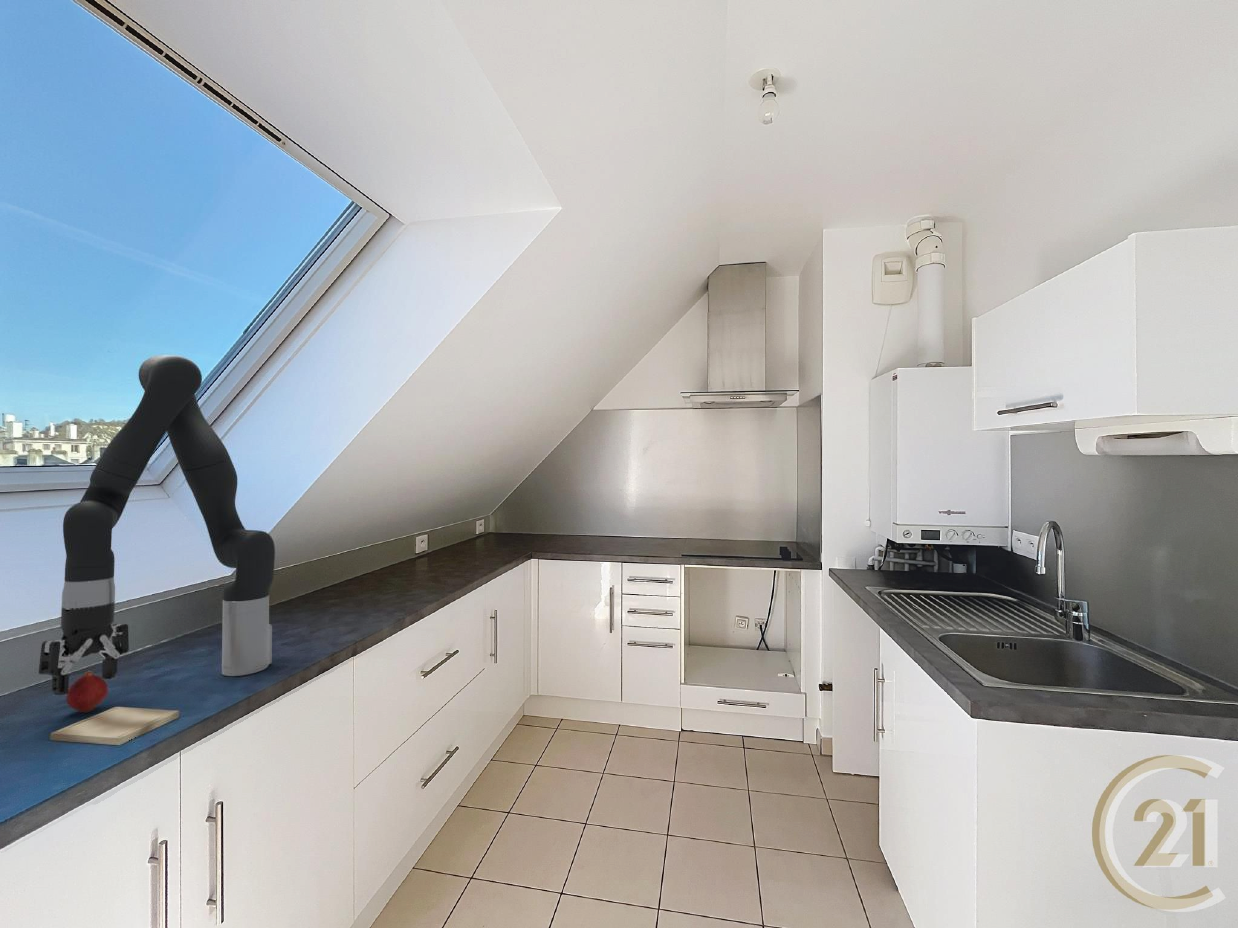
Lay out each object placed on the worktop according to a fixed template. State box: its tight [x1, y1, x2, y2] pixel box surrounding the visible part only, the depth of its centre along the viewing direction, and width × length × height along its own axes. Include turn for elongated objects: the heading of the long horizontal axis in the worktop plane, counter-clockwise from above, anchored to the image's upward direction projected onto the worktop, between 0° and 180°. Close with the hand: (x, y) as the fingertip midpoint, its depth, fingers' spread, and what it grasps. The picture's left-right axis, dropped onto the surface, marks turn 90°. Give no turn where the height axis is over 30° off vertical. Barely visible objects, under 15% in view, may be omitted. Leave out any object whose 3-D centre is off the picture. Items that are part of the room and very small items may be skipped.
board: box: [50, 706, 180, 746], centre depth 100 cm, size 11×14×1 cm
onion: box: [65, 670, 109, 713], centre depth 107 cm, size 6×6×8 cm
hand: (85, 685), depth 106 cm, fingers open, 8 cm apart
